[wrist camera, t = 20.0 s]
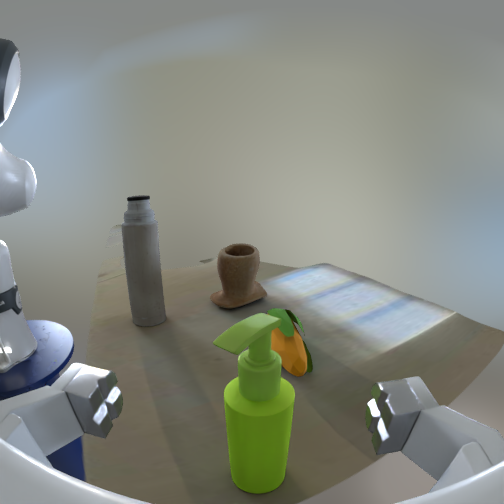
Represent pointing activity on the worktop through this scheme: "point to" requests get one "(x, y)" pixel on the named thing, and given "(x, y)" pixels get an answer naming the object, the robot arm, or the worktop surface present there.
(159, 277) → the thermos bottle
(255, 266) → the stone cup
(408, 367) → the worktop surface
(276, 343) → the corn
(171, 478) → the worktop surface
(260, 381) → the soap dispenser
